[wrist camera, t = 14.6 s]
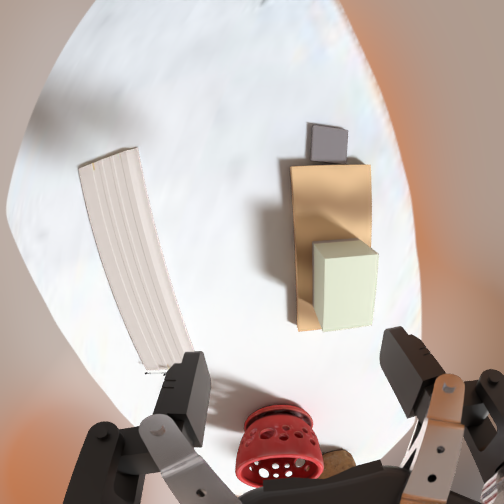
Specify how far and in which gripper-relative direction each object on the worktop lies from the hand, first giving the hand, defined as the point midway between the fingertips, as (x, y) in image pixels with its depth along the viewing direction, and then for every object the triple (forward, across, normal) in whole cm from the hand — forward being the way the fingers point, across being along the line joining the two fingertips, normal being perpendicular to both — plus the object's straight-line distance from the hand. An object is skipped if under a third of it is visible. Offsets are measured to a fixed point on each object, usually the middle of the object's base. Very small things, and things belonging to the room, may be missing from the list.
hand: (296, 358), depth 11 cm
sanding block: (+20, -7, +6) cm, 22 cm away
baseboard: (+23, +16, +4) cm, 28 cm away
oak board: (+22, -7, +3) cm, 23 cm away
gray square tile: (+23, -8, -9) cm, 26 cm away
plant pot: (+21, +1, +33) cm, 39 cm away
